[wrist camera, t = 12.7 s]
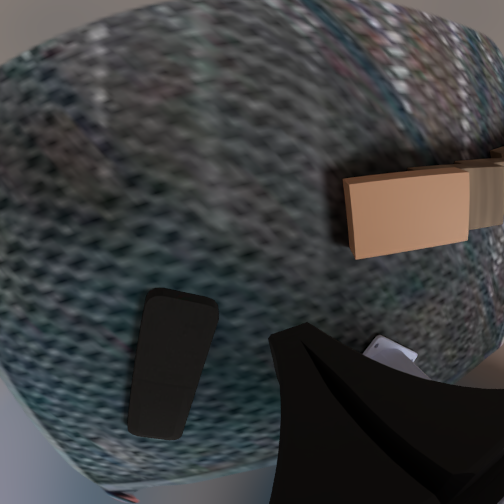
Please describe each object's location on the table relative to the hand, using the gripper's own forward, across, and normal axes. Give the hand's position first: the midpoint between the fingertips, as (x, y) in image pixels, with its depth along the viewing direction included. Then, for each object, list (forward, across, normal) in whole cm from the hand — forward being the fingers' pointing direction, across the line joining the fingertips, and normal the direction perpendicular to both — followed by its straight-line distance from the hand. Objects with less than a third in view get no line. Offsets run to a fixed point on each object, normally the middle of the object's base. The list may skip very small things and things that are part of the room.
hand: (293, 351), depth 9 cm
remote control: (+11, +7, +8) cm, 16 cm away
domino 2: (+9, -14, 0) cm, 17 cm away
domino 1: (+9, -8, 0) cm, 12 cm away
